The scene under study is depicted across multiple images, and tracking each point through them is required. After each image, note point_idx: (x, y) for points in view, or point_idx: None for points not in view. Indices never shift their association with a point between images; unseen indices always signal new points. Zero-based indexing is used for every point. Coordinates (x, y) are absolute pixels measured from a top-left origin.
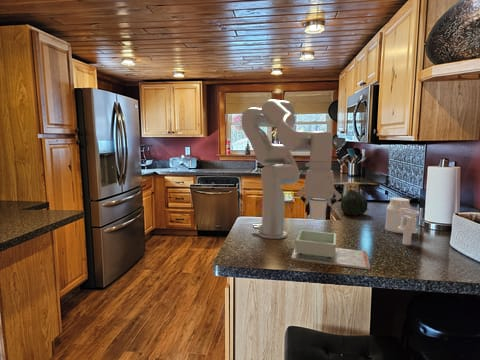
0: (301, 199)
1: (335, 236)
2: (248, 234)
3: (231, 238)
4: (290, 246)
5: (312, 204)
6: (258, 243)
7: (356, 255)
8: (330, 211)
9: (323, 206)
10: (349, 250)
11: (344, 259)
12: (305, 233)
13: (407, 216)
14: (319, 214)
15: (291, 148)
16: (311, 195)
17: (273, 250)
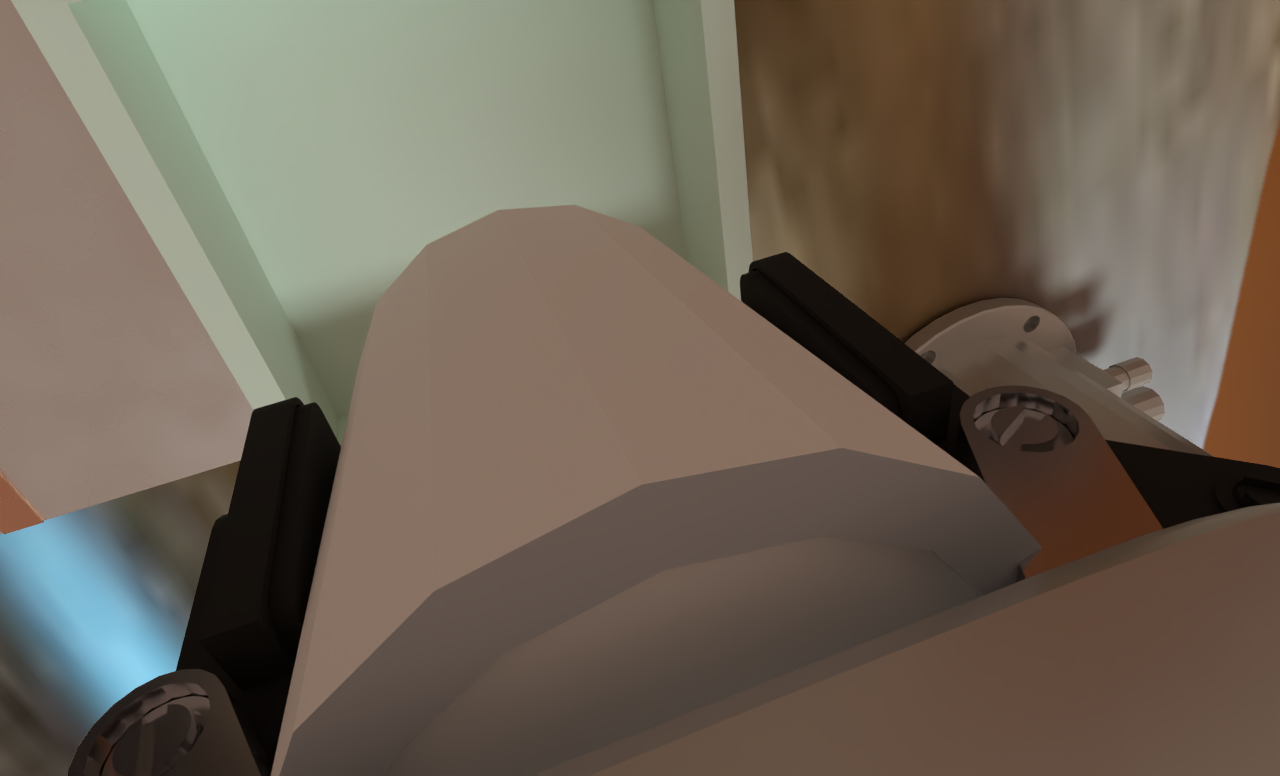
0: (1258, 464)
1: (260, 404)
2: (1133, 303)
3: (1271, 117)
4: (762, 237)
5: (808, 376)
6: (1048, 133)
7: (2, 350)
8: (206, 565)
9: (363, 495)
10: (169, 446)
11: (33, 118)
12: None
13: None
14: (459, 277)
15: None
16: (1218, 656)
17: (896, 12)
